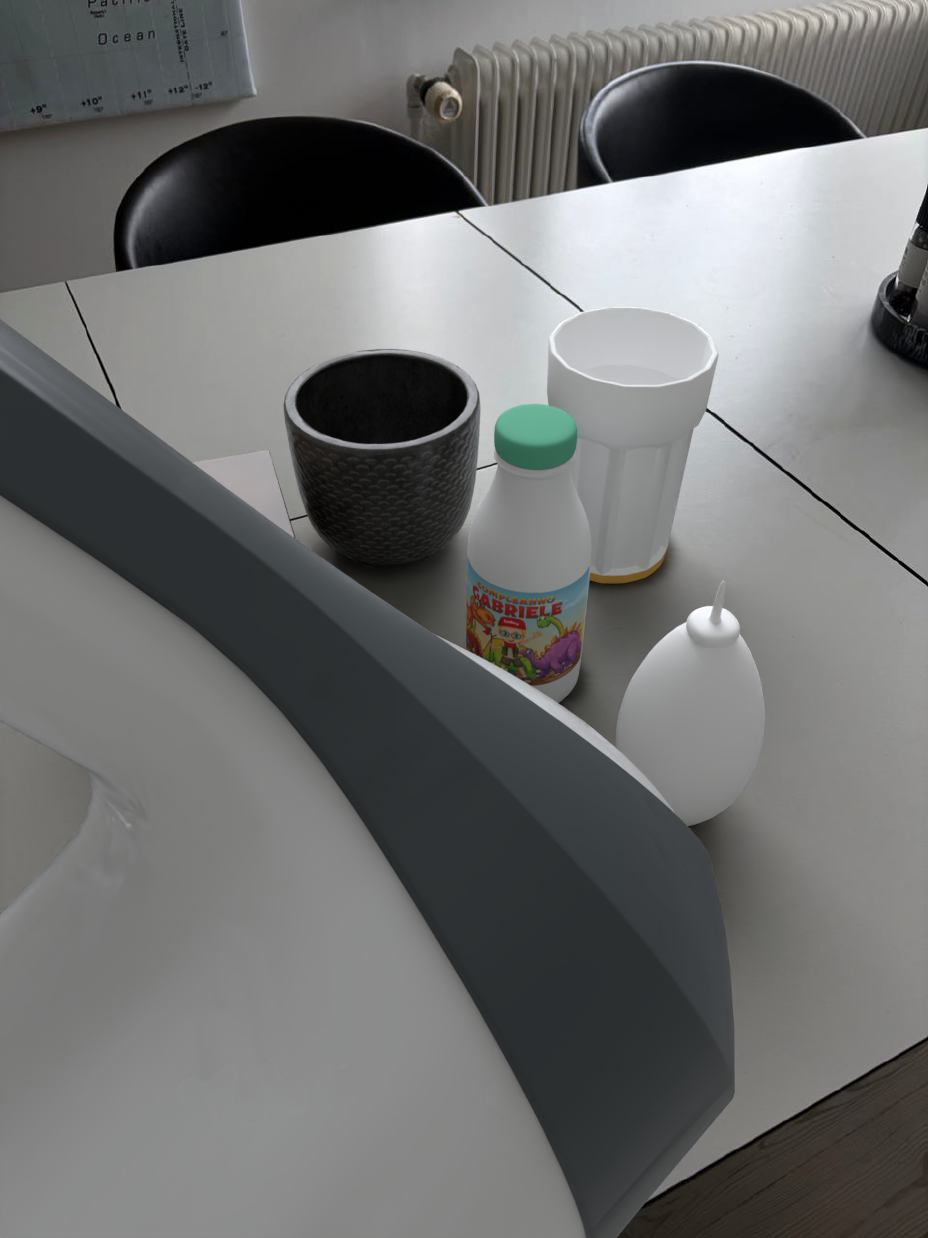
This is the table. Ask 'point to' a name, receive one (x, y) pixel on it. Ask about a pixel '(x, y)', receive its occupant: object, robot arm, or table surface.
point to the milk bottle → (530, 554)
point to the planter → (384, 453)
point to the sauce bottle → (696, 714)
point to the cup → (630, 425)
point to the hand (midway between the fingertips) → (110, 993)
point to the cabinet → (252, 483)
